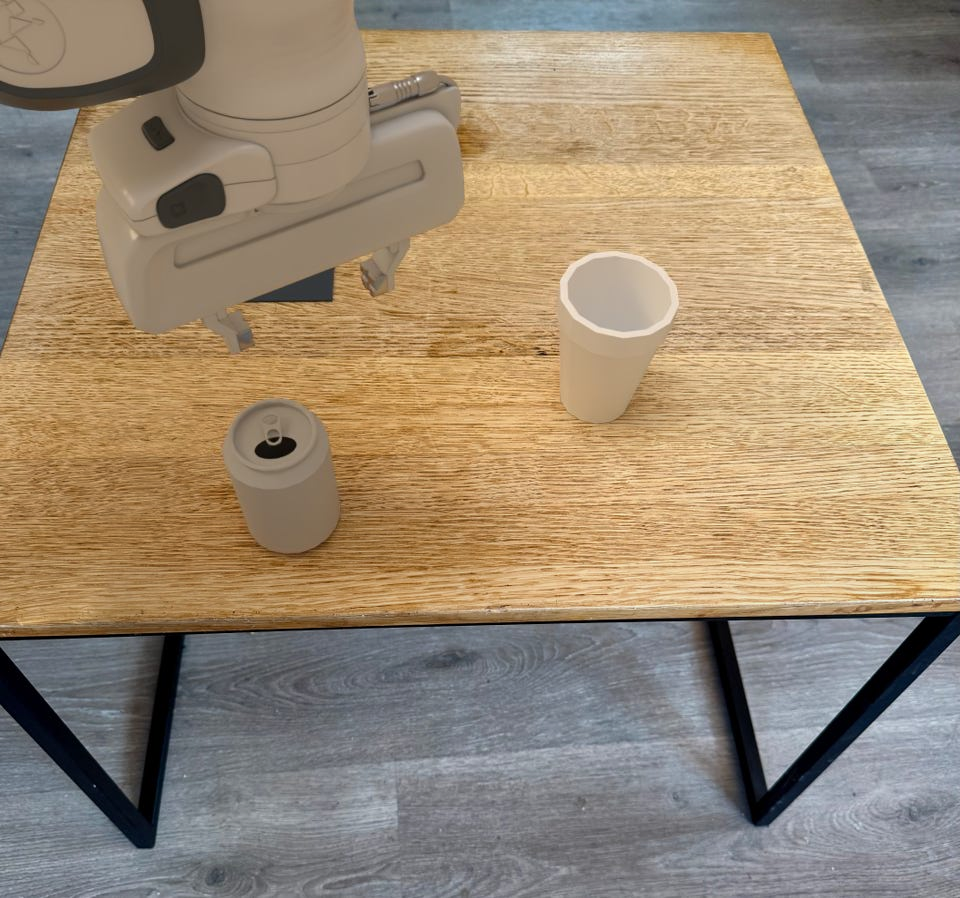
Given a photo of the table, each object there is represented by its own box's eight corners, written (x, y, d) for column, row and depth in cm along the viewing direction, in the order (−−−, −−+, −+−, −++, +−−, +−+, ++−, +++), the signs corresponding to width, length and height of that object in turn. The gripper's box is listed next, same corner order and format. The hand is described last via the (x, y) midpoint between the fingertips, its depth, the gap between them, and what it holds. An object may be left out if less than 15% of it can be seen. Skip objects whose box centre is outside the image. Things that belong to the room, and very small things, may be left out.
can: (253, 568, 68) (223, 486, 58) (242, 488, 72) (211, 399, 62) (349, 547, 69) (335, 463, 60) (332, 470, 73) (317, 380, 64)
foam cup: (665, 393, 80) (701, 290, 69) (607, 455, 75) (636, 357, 65) (581, 340, 83) (603, 234, 72) (521, 397, 79) (535, 294, 68)
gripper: (430, 31, 48) (430, 228, 59) (50, 144, 41) (133, 342, 52) (492, 92, 45) (480, 287, 56) (95, 224, 38) (172, 416, 49)
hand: (310, 315), depth 54 cm, fingers open, 8 cm apart
